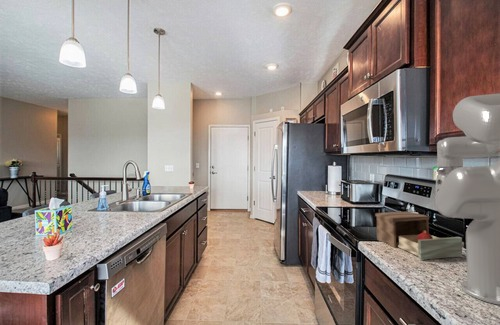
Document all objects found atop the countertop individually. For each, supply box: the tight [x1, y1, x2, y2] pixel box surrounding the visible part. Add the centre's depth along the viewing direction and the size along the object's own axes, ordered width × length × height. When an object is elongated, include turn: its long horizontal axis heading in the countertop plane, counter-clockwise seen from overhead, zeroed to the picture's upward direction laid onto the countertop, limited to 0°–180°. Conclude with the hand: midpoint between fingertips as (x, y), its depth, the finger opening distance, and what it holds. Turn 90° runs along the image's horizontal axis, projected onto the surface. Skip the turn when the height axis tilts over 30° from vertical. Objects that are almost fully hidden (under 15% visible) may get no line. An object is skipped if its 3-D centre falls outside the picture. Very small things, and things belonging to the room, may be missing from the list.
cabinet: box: [374, 210, 430, 249], centre depth 117 cm, size 12×19×14 cm
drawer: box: [397, 234, 463, 261], centre depth 103 cm, size 15×19×8 cm
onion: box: [417, 231, 433, 241], centre depth 103 cm, size 6×6×8 cm
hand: (451, 219), depth 91 cm, fingers closed
